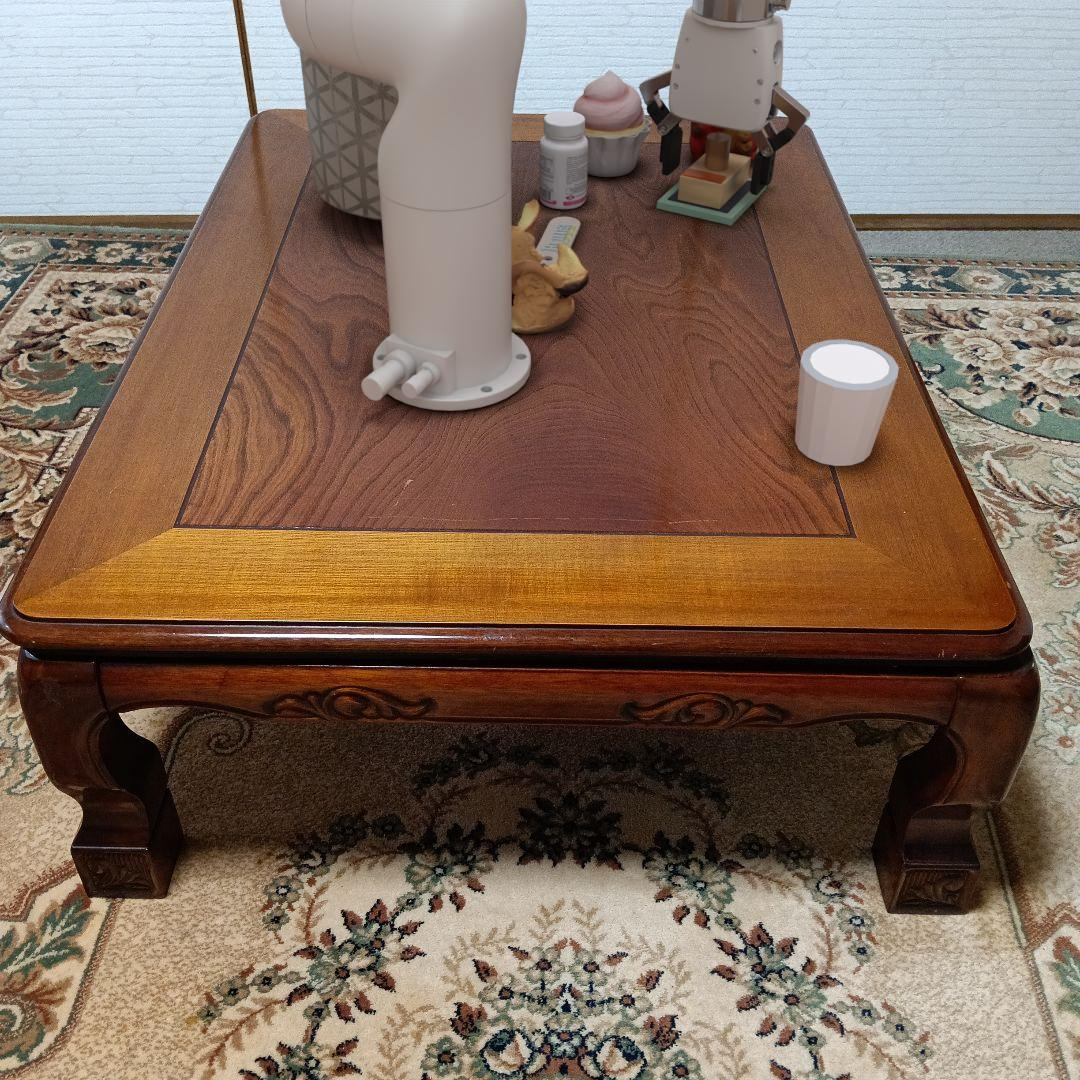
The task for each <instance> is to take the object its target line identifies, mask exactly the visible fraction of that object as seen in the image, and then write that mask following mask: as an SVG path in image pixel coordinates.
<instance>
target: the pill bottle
mask: <svg viewBox="0 0 1080 1080" xmlns="http://www.w3.org/2000/svg"><path fill="white" fill-rule="evenodd" d="M543 133H544V135H543V136H541V138H540V141H539V171H538V172H539V175H538V176H539V186H538V188H539V189H538V190H539V191H538V194H539V201H540V203H541V204H542V205H544V206H545V207H547V208H549V209H556V210H572V209H576V208H578V207H581V206H583V205H584V204H585V202H586V201H587V195H588V193H587V192H588V190H587V189H588V174H587V170H588V169H587V168H588V140H587V138H586V137H585V136H584V133H585V118H584V116H583V115H581V114H579V113H576V112H573V111H570V110H557V111H556V110H555V111H552V112H549V113H547V114H546V115H544V117H543Z"/></svg>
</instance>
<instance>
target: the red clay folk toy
mask: <svg viewBox="0 0 1080 1080" xmlns="http://www.w3.org/2000/svg"><path fill="white" fill-rule="evenodd" d="M689 132H690V134H689V139H688V147H689V150H690V153H691V155H692V158H693V159H694V161H695V162H696V161H697V160H698V159H699V158H701V157H702V156H703V155H704V154H705V151H706V142H707V136H708V135H709V134H711V133H725V134H728V135H730V136H731V147H730V153H732V154H737V155H742V156H746V157H751V161H750V165H751V164H753V163H754V157H755V155H756V154H757V153H756V152H757V151H758V149H759V148H758V147H757V145H756V143H755V141H754V139H753V137H752V136H751V134H750V133H747V132H740V131H735V130H730V129H725V128H720V127H715V126H710V125H705V124H700V123H696V122H691V121H690V131H689Z"/></svg>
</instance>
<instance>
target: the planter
mask: <svg viewBox="0 0 1080 1080" xmlns="http://www.w3.org/2000/svg"><path fill="white" fill-rule="evenodd" d="M298 49H299V57H300V65H301V66H300V67H301V76H302V84H303V85H302V86H303V94H304V95H303V96H304V102H305V111H306V121H307V130H308V139H309V149H310V155H311V167H312V168H311V169H312V176H313V185H314V190H315V191H316V193H317V195H318V196H319V198H321V199H322V200H323V201H324V203H326V204H328V205H330V206H331V207H333V208H335V209H336V210H339V211H342V212H344V213H347V214H350V215H354V216H357V217H361V218H365V219H370V220H373V221H374V222H375V221H376V222H379V223H382V216H381V203H380V190H379V181H378V149H379V144H380V140H381V137H382V135H383V132H384V130H385V128H386V126H387V125H388V123H389V121H390V119H391V117H392V116H393V114H394V112H395V109H396V107H397V104H398V99H399V95H398V91H397V89H396V88H394V87H392V86H389V85H387V84H383V83H381V82H379V81H377V80H373V79H370V78H367V77H363V76H360V75H356V74H353V73H349V72H346V71H343V70H339V69H336V68H333V67H330V66H327V65H325V64H322V63H320V62H318V61H316V60H314V59H312V58H311V57H309V56H308V55H306V54H305V53H304V52H303V51H302V50H301V49H300V48H299V47H298Z"/></svg>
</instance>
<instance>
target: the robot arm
mask: <svg viewBox="0 0 1080 1080" xmlns="http://www.w3.org/2000/svg"><path fill="white" fill-rule="evenodd" d="M279 4H280V9H281V14H282V19H283V21H284V24H285V27H286V29H287V31H288V33H289V36H290V38H291V39H292V41H293V42H294V44H295V45H296V46H297V47H298V49H299V48H300V49H301V50H302V51H303V52H304V53H305V54H306V55H308V56H309V57H311V58H312V59H314V60H316V61H318V62H320V63H322V64H325V65H327V66H330V67H333V68H336V69H339V70H343V71H346V72H349V73H353V74H356V75H360V76H363V77H367V78H370V79H373V80H377V81H379V82H381V83H383V84H387V85H389V86H392V87H394V88H396V89H397V91H398V95H399V99H398V104H397V107H396V109H395V112H394V114H393V116H392V117H391V119H390V121H389V123H388V125H387V126H386V128H385V130H384V132H383V135H382V137H381V140H380V144H379V149H378V181H379V190H380V203H381V216H382V222H381V227H382V242H383V243H382V244H383V256H384V257H383V258H384V269H385V281H386V282H385V283H386V294H387V295H386V297H387V310H388V321H389V323H388V324H389V335H388V336H387V337H385V339H383V340H382V341H381V342H380V344H379V345H378V346H377V347H376V349H375V351H374V353H373V355H372V370H373V371H372V372H371V373H369V374H368V375H367V376H365V377H364V378H362V381H361V383H360V387H361V390H362V392H363V394H364V395H365V396H366V397H367V398H368V399H369V400H371V401H374V402H378V401H380V400H381V399H382V398H384V397H385V396H386V395H389V396H390V397H392V398H393V399H395V400H397V401H400V402H401V403H404V404H406V405H409V406H413V407H416V408H420V409H426V410H432V411H443V412H446V411H447V412H455V411H467V410H468V411H469V410H474V409H480V408H483V407H487V406H491V405H494V404H497V403H499V402H501V401H503V400H506V399H508V398H509V397H511V396H512V395H514V394H516V393H517V392H518V391H519V390H520V389H521V388H523V387H524V385H525V384H526V382H527V381H528V380H529V377H530V375H531V370H532V356H531V352H530V349H529V347H528V346H527V344H526V343H525V342H524V339H522V338H520V337H519V336H518V335H517V334H515V332H512V306H513V305H512V301H513V300H512V295H513V292H512V290H511V226H512V142H513V141H512V136H513V119H514V109H515V101H516V93H517V92H516V91H517V86H518V80H519V75H520V69H521V63H522V59H523V55H524V50H525V43H526V39H527V38H526V37H527V28H528V27H527V26H528V10H527V3H526V0H279ZM791 4H792V0H692V4H691V6H689V7H688V9H686V10H685V12H684V16H683V18H682V23H681V26H680V31H679V35H678V38H677V42H676V46H675V51H674V56H673V61H672V66H671V67H672V68H671V69H669V70H667V71H664V72H662V73H660V74H656V75H654V76H652V77H649V78H647V79H645V80H644V81H642V82H641V83H639V85H638V88H639V92H640V95H641V97H642V100H643V102H644V104H645V105H646V113H647V114H648V116H649V117H650V119H651V121H652V122H653V123H654V124H655V125H656V131H657V134H658V135H660V147H659V162H660V163H661V164H662V165H661V175H662V176H667V177H668V176H669V175H671V174H672V173H673V172H675V171H676V170H677V169H678V168H679V167H680V165H681V159H682V157H681V156H682V147H683V136H684V130H683V127H681V126H680V123H681V122H682V121H687V122H690V123H691V122H696V123H700V124H705V125H710V126H715V127H720V128H725V129H730V130H735V131H740V132H747V133H750V134H751V136H752V137H753V139H754V141H755V143H756V145H757V147H758V148H757V149H758V152H757V153H755V157H754V162H753V163H752V173H751V177H750V179H751V185H750V193H751V194H752V195H758V194H759V193H760V191H761V190H762V189H763V188H764V187H765V186H766V187H767V186H769V185H770V184H771V182H772V179H773V175H774V170H775V169H774V167H775V163H776V154H777V152H778V151H779V150H780V149H782V148H783V147H784V146H786V145H787V144H789V143H790V142H791V141H792V140H793V139H794V138H795V137H796V136H797V135H798V133H799V132H800V131H801V129H802V128H803V127H804V125H805V124H806V123H807V122H808V120H809V119H810V117H811V112H810V110H808V108H806V107H805V106H804V105H803V104H802V103H800V102H799V101H798V100H797V99H795V98H794V97H793V96H792V95H790V93H788V92H787V91H786V90H785V89H784V88H783V87H782V86H783V85H782V84H783V69H784V27H783V25H784V24H783V17H781V16H780V15H776V14H775V13H777V12H780V11H786V12H787V11H789V9H790V7H791ZM300 49H299V50H300ZM667 87H669V88H668V106H667V105H666V104H665V102H664V101H663V100H662V99H661V95H660V90H662V89H665V88H667ZM779 111H780V112H781V113H782V114H784V115H785V116H786V117H787V118H788V122H787V124H786V125H785V127H784V128H783V129H781V130H780V131H778V129H777V128H776V127H775V124H774V123H773V120H774V119H776V117H777V116H778V115H779V114H778V113H779Z"/></svg>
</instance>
